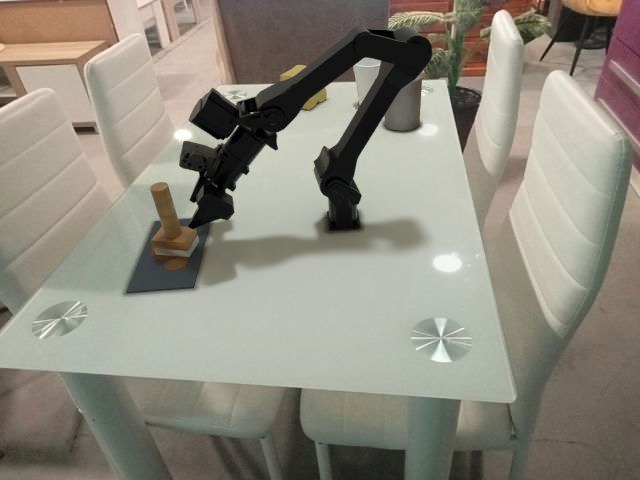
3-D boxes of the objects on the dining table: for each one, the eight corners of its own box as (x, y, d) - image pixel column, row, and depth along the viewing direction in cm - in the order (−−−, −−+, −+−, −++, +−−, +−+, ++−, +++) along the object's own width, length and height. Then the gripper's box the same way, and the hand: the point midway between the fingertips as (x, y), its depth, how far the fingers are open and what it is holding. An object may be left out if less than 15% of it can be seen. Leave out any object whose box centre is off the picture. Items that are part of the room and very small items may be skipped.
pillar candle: (409, 114, 139) (412, 62, 130) (425, 127, 131) (429, 72, 122) (378, 121, 137) (379, 67, 128) (393, 134, 129) (394, 78, 120)
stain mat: (193, 287, 85) (193, 286, 85) (126, 292, 85) (125, 291, 85) (211, 217, 102) (210, 216, 102) (155, 222, 102) (155, 220, 102)
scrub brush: (199, 241, 95) (182, 180, 87) (189, 257, 91) (170, 194, 83) (167, 239, 96) (147, 178, 88) (155, 254, 93) (134, 192, 84)
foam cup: (350, 102, 150) (348, 59, 142) (377, 97, 151) (377, 54, 144) (361, 112, 142) (360, 68, 134) (389, 107, 144) (390, 63, 136)
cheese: (327, 99, 153) (325, 67, 147) (308, 111, 146) (306, 78, 140) (300, 94, 158) (297, 63, 152) (281, 106, 151) (277, 74, 145)
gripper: (200, 107, 88) (156, 169, 94) (198, 151, 74) (146, 221, 79) (249, 140, 94) (205, 197, 99) (257, 187, 79) (204, 250, 85)
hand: (190, 214), depth 91 cm, fingers open, 9 cm apart
